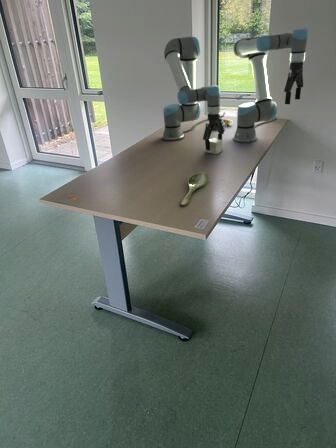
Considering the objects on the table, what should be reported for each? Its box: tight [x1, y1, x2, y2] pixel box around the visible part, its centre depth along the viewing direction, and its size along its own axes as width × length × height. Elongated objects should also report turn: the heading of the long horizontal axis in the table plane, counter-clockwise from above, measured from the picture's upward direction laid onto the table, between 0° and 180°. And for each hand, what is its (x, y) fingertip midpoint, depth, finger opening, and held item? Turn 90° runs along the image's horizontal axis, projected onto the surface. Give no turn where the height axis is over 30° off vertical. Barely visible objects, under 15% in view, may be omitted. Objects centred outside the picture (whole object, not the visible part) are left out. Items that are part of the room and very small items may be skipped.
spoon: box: [180, 171, 210, 207], centre depth 170 cm, size 35×11×2 cm, turn 159°
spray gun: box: [221, 117, 234, 130], centre depth 264 cm, size 21×4×15 cm
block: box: [205, 137, 223, 155], centre depth 215 cm, size 7×8×7 cm
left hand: (214, 146), depth 215 cm, fingers open, 13 cm apart
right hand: (292, 101), depth 195 cm, fingers open, 13 cm apart
